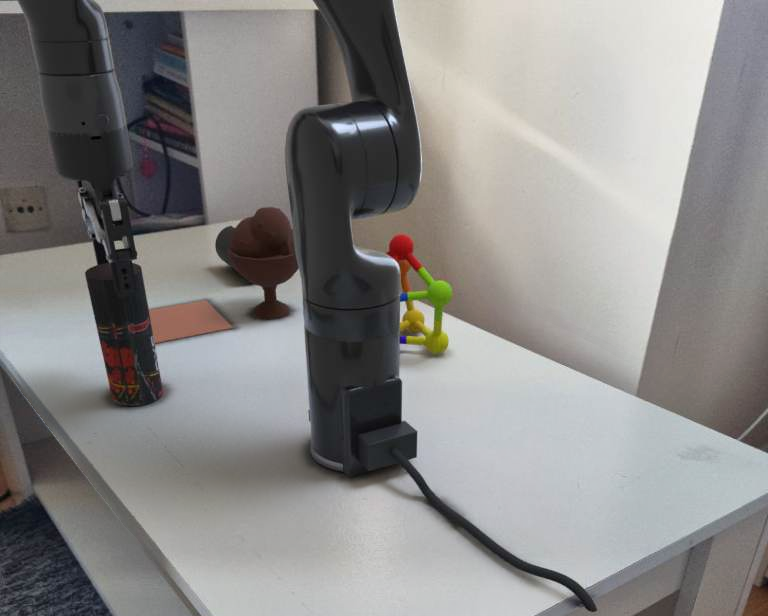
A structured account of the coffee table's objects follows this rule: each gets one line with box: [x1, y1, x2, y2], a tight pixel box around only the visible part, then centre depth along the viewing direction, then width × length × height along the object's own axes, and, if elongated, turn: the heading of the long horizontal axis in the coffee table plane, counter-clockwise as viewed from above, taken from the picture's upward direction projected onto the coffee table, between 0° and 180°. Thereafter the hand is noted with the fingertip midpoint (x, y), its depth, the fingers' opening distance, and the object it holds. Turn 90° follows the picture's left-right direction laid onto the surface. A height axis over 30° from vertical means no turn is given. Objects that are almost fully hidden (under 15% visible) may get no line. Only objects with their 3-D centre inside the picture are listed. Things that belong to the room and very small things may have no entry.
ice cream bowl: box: [226, 206, 299, 320], centre depth 113 cm, size 11×11×15 cm
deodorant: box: [84, 262, 164, 407], centre depth 92 cm, size 6×6×15 cm
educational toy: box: [384, 233, 453, 355], centre depth 103 cm, size 16×13×15 cm
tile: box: [149, 299, 234, 344], centre depth 115 cm, size 12×12×1 cm
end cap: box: [214, 225, 236, 269], centre depth 129 cm, size 10×7×7 cm
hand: (117, 283), depth 89 cm, fingers open, 8 cm apart
